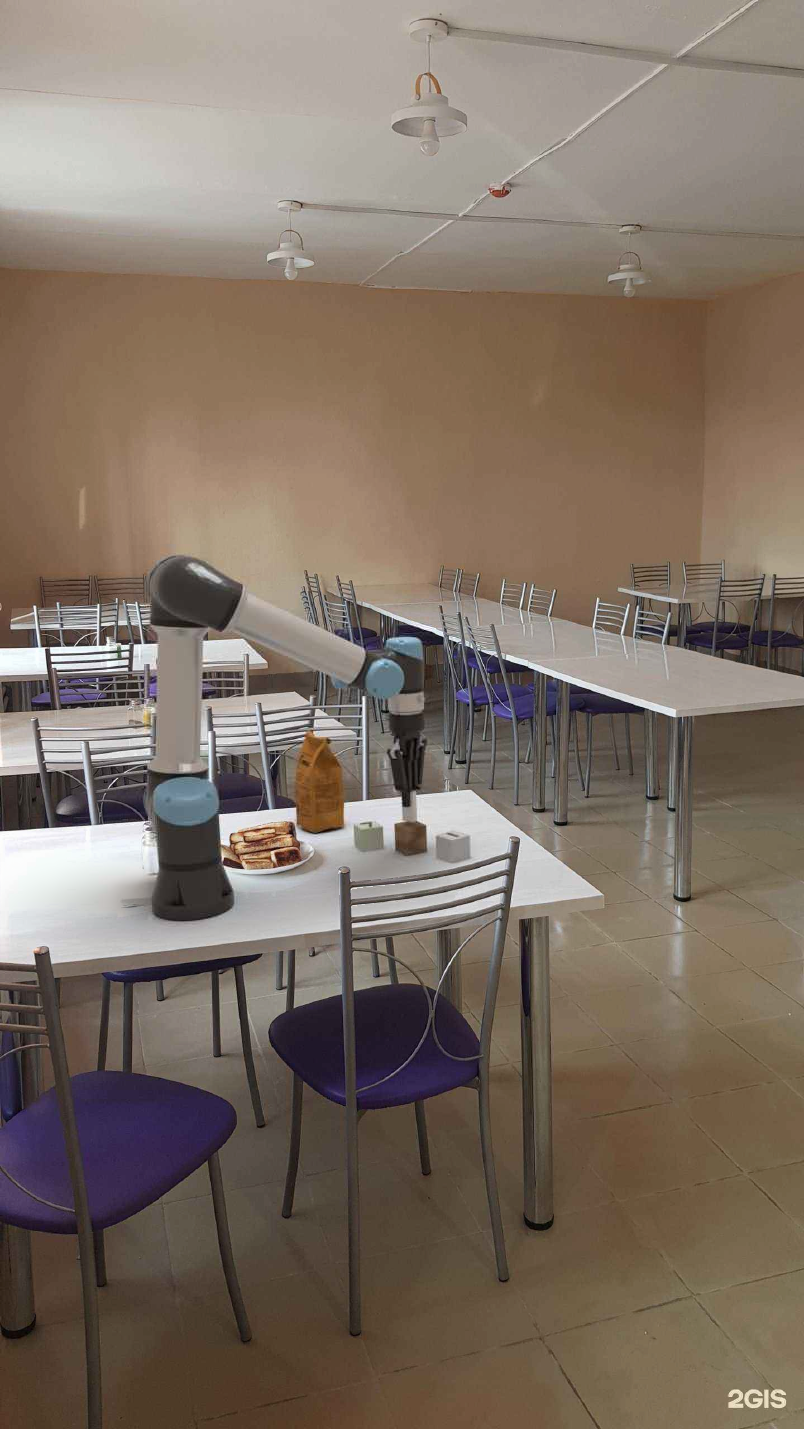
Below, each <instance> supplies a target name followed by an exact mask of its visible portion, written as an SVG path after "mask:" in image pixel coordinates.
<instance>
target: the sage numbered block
mask: <svg viewBox="0 0 804 1429" xmlns="http://www.w3.org/2000/svg"><path fill="white" fill-rule="evenodd" d="M353 839H354V840H353V841H354V842H353V843H354V844H353V845H354V846H355V847H356V848H357V849H358V850H360V851H361V853H363V852H369V851H377V850H382V849H384V848H385V847H384V846H385V844H384V826H383V825H382V824H380V823H379V822H377V821H376V820H371V821H365V822H364V821H363V822H355V823H353Z"/></svg>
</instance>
